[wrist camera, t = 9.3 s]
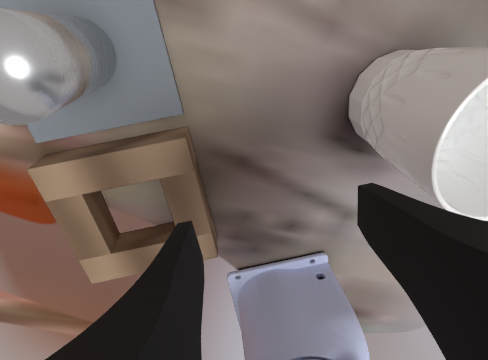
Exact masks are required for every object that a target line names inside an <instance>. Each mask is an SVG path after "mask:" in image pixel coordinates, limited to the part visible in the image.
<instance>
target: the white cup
mask: <svg viewBox="0 0 488 360" xmlns="http://www.w3.org/2000/svg"><path fill="white" fill-rule="evenodd" d="M349 119H350V121H351V123H352V125H353V128H354V130H355V132H356V133H357V134H358V135H359V136H360V137H362V138H363V139H364V140H365V141H367V142H368V143H369V144H370V145H371V146H372V147H373V148H374V149H375V150H376V152H377V153H379V154H380V155H381V156H382V157H383V158H384V159H385V160H387V161H388V162H389V163H390V164H391V165H392V166H393V167H394V168H396V169H397V170H398V171H399V172H400V173H401V174H403V175H404V176H405V177H406V178H408V179H409V180H410V181H411V182H413V183H414V184H415V185H416V186H418V187H419V188H420V189H421V190H423V191H424V192H425V193H426V194H427V195H429V196H430V197H431V198H432V199H434V200H435V201H436V202H437V203H438V204H440V205H441V206H442V207H443V208H444V209H446V210H447V211H450V212H454V213H457V214H460V215H464V216H468V217H472V218H475V219H479V220H483V221H488V47H458V48H432V49H425V50H397V51H394V52H392V53H389V54H387V55H384V56H381V57H379V58H377V59H376V60H375V61H374V62H372V63H371V64H370V65H369V66H368V67H367V68H366V69H365V70H364V71H363V72H362V73H361V74H360V75H359V77H358V79H357V81H356V83H355V85H354V87H353V90H352V92H351V94H350V96H349Z"/></svg>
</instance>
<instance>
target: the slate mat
mask: <svg viewBox="0 0 488 360" xmlns="http://www.w3.org/2000/svg"><path fill="white" fill-rule="evenodd" d="M0 8H3V9H12V10H21V11H30V12H39V13H48V14H58V15H67V16H76V17H81V18H84V19H87V20H89V21H91V22H93V23H95V24H96V25H98V26H99V27H100V28H101V29H102V30H103V31H104V32H105V33H106V34H107V35H108V37H109V38H110V40H111V42H112V44H113V46H114V49H115V52H116V69H115V72H114V74H113V76H112V77H111V79H110V80H109V81H108V82H107V83H106V84H104V85H102V86H101V87H99V88H97V89H95V90H93V91H92V92H90V93H88V94H86V95H84V96H82V97H81V98H79V99H77V100H75V101H73V102H71V103H70V104H68V105H66V106H64V107H62V108H60V109H59V110H57V111H55V112H53V113H51V114H49V115H48V116H46V117H44V118H42V119H40V120H38V121H36V122H33V123H29V124H26V125H27V126H28V128H29V130H30V132H31V134H32V136H33V138H34V140H35V142H36V143H40V142H45V141H50V140H55V139H60V138H65V137H70V136H75V135H81V134H86V133H91V132H96V131H101V130H106V129H111V128H116V127H121V126H126V125H131V124H136V123H141V122H146V121H151V120H157V119H162V118H167V117H172V116H177V115H182V114H184V112H183V108H182V104H181V100H180V96H179V93H178V89H177V85H176V81H175V78H174V74H173V70H172V66H171V63H170V59H169V55H168V51H167V48H166V44H165V40H164V36H163V33H162V29H161V25H160V21H159V18H158V14H157V10H156V6H155V2H154V0H0Z"/></svg>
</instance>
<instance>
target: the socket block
mask: <svg viewBox="0 0 488 360" xmlns="http://www.w3.org/2000/svg"><path fill="white" fill-rule="evenodd" d="M27 170H28V172H29V174H30V176H31V177H32V179H33V181H34V183H35V185H36V186H37V188H38V190H39V192H40V193H41V195H42V197H43V199H44V200H45V202H46V204H47V206H48V207H49V209H50V211H51V213H52V214H53V216H54V218H55V220H56V221H57V223H58V225H59V227H60V228H61V230H62V232H63V234H64V235H65V237H66V239H67V241H68V242H69V244H70V246H71V248H72V249H73V251H74V253H75V255H76V256H77V258H78V260H79V262H80V264H81V265H82V267H83V269H84V271H85V272H86V274H87V276H88V278H89V279H90V281H91V283H92V284H93V283H97V282H102V281H107V280H112V279H116V278H121V277H126V276H131V275H135V274H140V273H144V272H145V270H146V269H147V268H148V266H149V265H150V264H151V262H152V261H153V260H154V258H155V257H156V255H157V254H158V252H159V251H160V249H161V248H162V246H163V245H164V243H165V242H166V240H167V239H168V237H169V236H170V234H171V232H172V231H173V229H174V228H175V226H176V225H177V223H181V222H186V221H191V220H192V223H193V226H194V229H195V233H196V236H197V239H198V242H199V246H200V249H201V252H202V256H203V260H206V259H211V258H215V257H218V247H217V236H216V232H215V228H214V224H213V221H212V217H211V213H210V209H209V205H208V202H207V198H206V194H205V190H204V187H203V183H202V179H201V175H200V172H199V168H198V164H197V160H196V157H195V153H194V149H193V145H192V142H191V138H190V134H189V130H188V127H183V128H178V129H173V130H168V131H163V132H158V133H153V134H148V135H143V136H138V137H133V138H128V139H123V140H117V141H112V142H107V143H102V144H97V145H92V146H87V147H82V148H77V149H72V150H67V151H62V152H57V153H52V154H47V155H45V156H44V157H43V158H41V159H40V160H39V161H37V162H36V163H35V164H33V165H32V166H31V167H30V168H28V169H27ZM155 179H159V180H160V183H161V186H162V189H163V191H164V194H165V197H166V200H167V203H168V206H169V209H170V212H171V215H172V218H173V221H174V222H173V223H168V224H163V225H158V226H153V227H149V228H144V229H139V230H134V231H130V232H125V233H119V231H118V229H117V226H116V224H115V222H114V220H113V218H112V216H111V213H110V211H109V209H108V207H107V205H106V202H105V200H104V198H103V196H102V194H101V190H106V189H111V188H116V187H121V186H126V185H131V184H136V183H141V182H146V181H150V180H155Z"/></svg>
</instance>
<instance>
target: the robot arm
mask: <svg viewBox="0 0 488 360" xmlns="http://www.w3.org/2000/svg"><path fill="white" fill-rule="evenodd" d="M357 225H358V226H359V228H360V230H361V232H362V234H363V235H364V237H365V239H366V240H367V242H368V244H369V245H370V246H371V248H372V249H373V250H374V252H375V253H376V254H377V256H378V257H379V258H380V259H381V261H382V262H383V263H384V265H385V266H386V267H387V268H388V270H389V271H390V272H391V273H392V275H393V276H394V277H395V279H396V280H397V281H398V282H399V284H400V285H401V286H402V288H403V289H404V290H405V292H406V293H407V295H408V296H409V298H410V299H411V301H412V303H413V304H414V306H415V307H416V309H417V311H418V312H419V314H420V315H421V317H422V319H423V320H424V322H425V324H426V325H427V327H428V329H429V330H430V332H431V333H432V335H433V337H434V339H435V340H436V342H437V344H438V346H439V348H440V349H441V351H442V353H443V355H444V357H445V358H446V360H488V221H483V220H479V219H475V218H472V217H468V216H464V215H460V214H457V213H454V212H450V211H447V210H444V209H441V208H438V207H435V206H432V205H429V204H426V203H424V202H421V201H418V200H416V199H413V198H411V197H408V196H405V195H403V194H400V193H398V192H395V191H393V190H390V189H388V188H385V187H383V186H380V185H377V184H374V183H369V184H364V185H359V186H358V224H357ZM312 259H313V260H312ZM310 260H312V261H310ZM237 275H239V276H237ZM227 280H228V284H229V287H230V291H231V295H232V298H233V302H234V306H235V309H236V313H237V317H238V321H239V324H240V328H241V331H242V339H243V348H244V356H245V360H370V357H369V351H368V347H367V343H366V340H365V337H364V334H363V331H362V329H361V326H360V324H359V321H358V319H357V317H356V314H355V312H354V310H353V309H352V307H351V305H350V303H349V301H348V299H347V297H346V295H345V293H344V292H343V290H342V288H341V286H340V284H339V282H338V280H337V278H336V277H335V275H334V273H333V271H332V269H331V267H330V265H329V263H328V256H327V255H326V254H325V253H318V254H313V255H309V256H304V257H299V258H295V259H290V260H285V261H280V262H276V263H271V264H266V265H262V266H257V267H252V268H248V269H243V270H238V271H234V272H230V273H229V274H228V275H227ZM203 292H204V264H203V256H202V252H201V249H200V246H199V242H198V239H197V236H196V233H195V229H194V226H193V223H192V220H191V221H186V222H181V223H177V225H176V226H175V228H174V229H173V231H172V232H171V234H170V236H169V237H168V239H167V240H166V242H165V243H164V245H163V246H162V248H161V249H160V251H159V252H158V254H157V255H156V257H155V258H154V260H153V261H152V262H151V264H150V265H149V266H148V268H147V269H146V270H145V272H144V273H143V274H142V275H141V277H140V278H139V279H138V280H137V281H136V282H135V284H134V285H133V286H132V287H131V288H130V289H129V290H128V291H127V292H126V293H125V294H124V296H122V297H121V298H120V299H119V300H118V301H117V302H116V303H115V304H114V305H113V306H112V307H111V308H110V309H109V310H108V311H107V312H106V313H105V314H104V315H102V316H101V317H100V318H99V319H98V320H97V321H95V322H94V323H93V324H92V325H91V326H89V327H88V328H87V329H86V330H85V331H83V332H82V333H81V334H80V335H78V336H77V337H76V338H74V339H73V340H72V341H71V342H69V343H68V344H66V345H65V346H63V347H62V348H61V349H59V350H58V351H57V352H55V353H54V354H52V355H51V356H50V357H49V358H47V359H45V360H201V321H202V307H203Z"/></svg>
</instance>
